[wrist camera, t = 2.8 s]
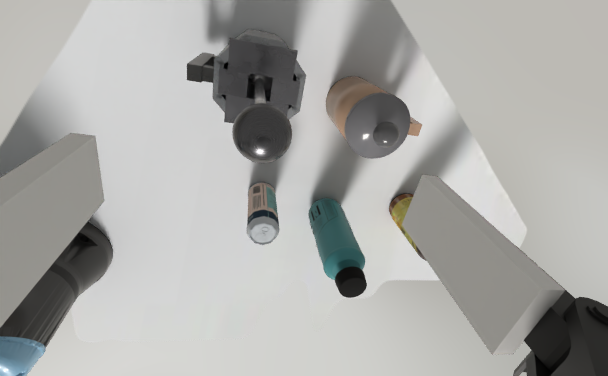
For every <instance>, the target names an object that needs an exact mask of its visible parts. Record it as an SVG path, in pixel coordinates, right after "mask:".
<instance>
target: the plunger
mask: <svg viewBox="0 0 608 376" xmlns="http://www.w3.org/2000/svg"><path fill="white" fill-rule="evenodd" d="M272 78H273V77H267V76H261V75H255V74H249V75H248V86H247V96H246V97H252V98H255V104H253V105H250V106H248V107H246V108H245V109H243V110H242V111H241V112H240V113H239V114H238V116H237V117H236V119H235V122H234V125H233V140H234V143H235V145H236V147H237V149H238V151H239V152H240V153H241V154H242V155H243V156H244V157H246V158H247V159H249V160H251V161H254V162H258V163H268V162H272V161H275V160H277V159H278V158H280V157H281V156H282V155H283V154H284V153H285V152H286V151H287V149H288V148H289V145H290V143H291V139H292V129H291V125H290V122H289V120H288V118H287V117H286V115H285V114H284V113H283V112H282V111H281V110H280V109H278V108H277V107H275V106H273V105H270V104H266V100H270V93H271V86H272Z"/></svg>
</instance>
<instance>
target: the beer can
mask: <svg viewBox="0 0 608 376" xmlns="http://www.w3.org/2000/svg"><path fill="white" fill-rule="evenodd" d="M278 233H279V223H278V214H277V205H276V197H275V190H274V189H273V187H272V186H271V185H269V184H267V183H256V184H254V185H253V186H251V188H250V189H249V191H248V224H247V235H248V237H249V238H250V239H251V240H252V241H253V242H254V243H256V244H260V245H265V244H269V243H271V242H272V241H273V240H274V239H275V238H276V237H277V235H278Z"/></svg>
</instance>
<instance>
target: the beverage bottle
mask: <svg viewBox="0 0 608 376" xmlns="http://www.w3.org/2000/svg"><path fill="white" fill-rule="evenodd" d="M308 218H310V223H311V224H310V225H312V226H311V228H312V229H313V234H314V236H315V239H316V243H317V244H316V245H317V246H316V247H317V249H318V250H319V254H320V255H319V256H320V257H321V260H322V263H323V268H324V271H325V273H326V275H327V276H328V277H329V278H331V279H333V280H335V283H336V286H337V287H338V290H339V292H340V293H341V295H343V296H345V297H349V298H351V297H356V296H359V295H360V294H362V293H363V292H364V291H365V289H366V286H367V283H366V280H365V275H364V273H363V271H362V269H363V268H364V265H365V258H364V255H363V253H362V252H361V250H360V247H359V245H358V243H357V241H356V239H355V237H354V235H353V231H352V229H351V227H350V225H349V223H348V220H347V219H346V218H347V217H345V214H344V210H343V209H342V208H341V206H340V204H339V203H338V202H336V201H335V200H333V199H329V198H324V199H320V200H318V201H316V202H315V203H314V204H313V205H312V206H311V208H310V210H309V217H308Z"/></svg>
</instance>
